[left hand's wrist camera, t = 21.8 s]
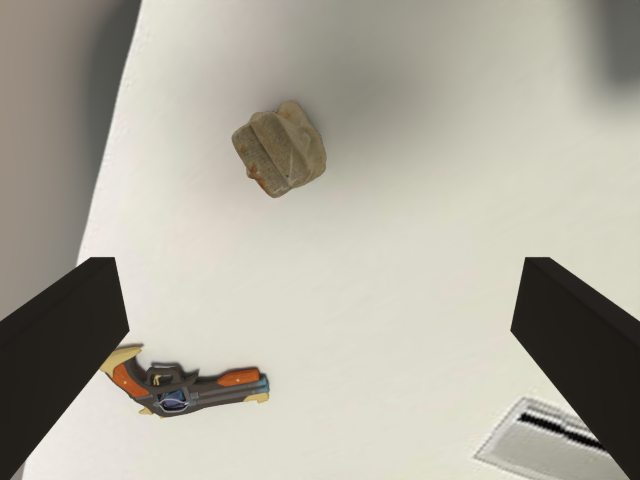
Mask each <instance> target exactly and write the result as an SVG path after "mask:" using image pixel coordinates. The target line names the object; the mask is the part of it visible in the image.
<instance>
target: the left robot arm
mask: <svg viewBox="0 0 640 480" xmlns="http://www.w3.org/2000/svg"><path fill="white" fill-rule="evenodd" d="M129 331H130V330H129V325H128V320H127V315H126V310H125V305H124V301H123V296H122V291H121V286H120V281H119V276H118V271H117V266H116V261H115V257H90V258H89V259H87V260H86V261H85V262H83V263H82V264H80V265H79V266H78V267H76V268H75V269H73V270H72V271H71V272H69V273H68V274H66V275H65V276H64V277H62V278H61V279H59V280H58V281H57V282H55V283H54V284H52V285H51V286H49V287H48V288H47V289H45V290H44V291H42V292H41V293H40V294H38V295H37V296H35V297H34V298H33V299H31V300H30V301H28V302H27V303H26V304H24V305H23V306H21V307H20V308H18V309H17V310H16V311H14V312H13V313H11V314H10V315H9V316H7V317H6V318H4V319H3V320H2V321H0V480H10V479H11V478H12V476H13V475H14V474H15V473H16V471H17V470H18V469H19V468H20V466H21V465H22V464H23V463H24V461H25V460H26V459H27V458H28V456H29V455H30V454H31V453H32V451H33V450H34V449H35V448H36V447H37V445H38V444H39V443H40V442H41V440H42V439H43V438H44V437H45V435H46V434H47V433H48V432H49V430H50V429H51V428H52V427H53V425H54V424H55V423H56V422H57V420H58V419H59V418H60V417H61V415H62V414H63V413H64V412H65V410H66V409H67V408H68V407H69V406H70V404H71V403H72V402H73V401H74V399H75V398H76V397H77V396H78V394H79V393H80V392H81V391H82V389H83V388H84V387H85V386H86V384H87V383H88V382H89V381H90V379H91V378H92V377H93V376H94V374H95V373H96V372H97V371H98V369H99V368H100V367H101V366H102V365H103V363H104V362H105V361H106V360H107V358H108V357H109V356H110V355H111V353H112V352H113V351H114V350H115V348H116V347H117V346H118V345H119V343H120V342H121V341H122V340H123V338H124V337H125V336H126V335H127V333H128V332H129ZM510 331H511V332H512V333H513V335H514V336H515V337H516V338H517V340H518V341H519V342H520V343H521V345H522V346H523V347H524V348H525V350H526V351H527V352H528V353H529V355H530V356H531V357H532V358H533V360H534V361H535V362H536V363H537V365H538V366H539V367H540V368H541V369H542V371H543V372H544V373H545V374H546V376H547V377H548V378H549V379H550V381H551V382H552V383H553V384H554V386H555V387H556V388H557V389H558V391H559V392H560V393H561V394H562V396H563V397H564V398H565V399H566V401H567V402H568V403H569V404H570V406H571V407H572V408H573V409H574V410H575V412H576V413H577V414H578V415H579V417H580V418H581V419H582V420H583V422H584V423H585V424H586V425H587V427H588V428H589V429H590V430H591V432H592V433H593V434H594V435H595V437H596V438H597V439H598V440H599V442H600V443H601V444H602V445H603V447H604V448H605V449H606V450H607V451H608V453H609V454H610V455H611V456H612V458H613V459H614V460H615V461H616V463H617V464H618V465H619V466H620V468H621V469H622V470H623V471H624V473H625V474H626V475H627V476H628V478H629V479H630V480H640V321H638V320H637V319H636V318H634V317H633V316H631V315H630V314H629V313H627V312H626V311H624V310H623V309H622V308H620V307H619V306H617V305H616V304H614V303H613V302H612V301H610V300H609V299H607V298H606V297H605V296H603V295H602V294H600V293H599V292H598V291H596V290H595V289H593V288H592V287H591V286H589V285H588V284H586V283H585V282H584V281H582V280H581V279H579V278H578V277H576V276H575V275H574V274H572V273H571V272H569V271H568V270H567V269H565V268H564V267H562V266H561V265H560V264H558V263H557V262H555V261H554V260H553V259H551V258H550V257H525V261H524V266H523V271H522V276H521V281H520V286H519V291H518V296H517V301H516V305H515V310H514V315H513V320H512V325H511V330H510Z"/></svg>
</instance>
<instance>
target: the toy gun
mask: <svg viewBox="0 0 640 480" xmlns="http://www.w3.org/2000/svg"><path fill="white" fill-rule="evenodd" d="M140 352H141V348H139V347H131V348H125V349H119V350H116V351H113V352H112V353H111V355H110V356H109V357H108V358H107V360H106V361H105V362H104V363H103V365H102V366H101V367H100V368H99V369H100V371H102V372H105V374H106V375H107V376H108V377H109V378H110V379H111V380H112V382H114V383H115V384H116V385H117V386H118V387H120V388H121V389H122V390H124V391H125V392H126V393H127V394H128V395H129V397H130V398H132V399H133V400H134V401H135V402H137V403H139V404H141V405H143V406H144V409H143V410H141V411H139V413H140V414H149V415H152V414H153V413H156V414H157V415H159V416H160V419H162V418H165V417H173V416H178V415H184V414H188V413H192V412H195V411H198V410H200V409H203V408H207V407H212V406H218V405H224V404H230V403H237V402H246V401H253V400H257V401H258V404H259V403H262V402H265V401H268V399H269V385H268V384H267V379H266V377H264V378H263V376H261V377H260V375H259V371H258V370H257V369H252V370H245V371H238V372H231V373H228V374H226V375H224V376H223V377H221V378H219V379H218V380H215V381H210V382H195V380H196V378H197V376H198V374H199V373H196V374H194V375H192V376H189V377H186V378H183V377H182V374H181V371H180V370H179V369H178V368H176V367H170V368H154V367H150V368H149V369H148V370H147V379H146V378H144V377H143V376H142V375H141V374H140V373H139V372H138V371H137V369H136V368H135V365H134V356H135V355H137V354H138V353H140ZM169 374H170V375H172V376H173V380H171V381H166V382H160V383H159V380H158V378H159V377H161V376H162V375H169ZM152 375H156V376H155V378H154V382H153V380H152ZM155 379H156V381H157V382H155ZM167 392H171V393H169V394H168V395H167V396H165V397H164V395H165V393H167ZM162 393H164V394H163V396H161V394H162ZM163 397H164V398H163ZM186 402H189V404H187V405H184V404H185V403H186ZM164 405H166V406H167V407H166V406H164Z"/></svg>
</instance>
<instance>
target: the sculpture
mask: <svg viewBox="0 0 640 480" xmlns="http://www.w3.org/2000/svg"><path fill="white" fill-rule="evenodd" d="M232 142H233V145H234V147H235V149H236V151H237V153H238V155H239V156H240V158H241V159H242V161H243V163H244V164H245V166H246V167H247V176H248V177H249V178H251V179H255V180H256V182H257V183H258V184H259V185H260V187H261V188H262V189H263V190H264V191H265V192H266V193H267V194H268V195H269V196H271V197H272V198H277V197H280V196H282V195H284V194H285V193H287V192H288V191H289V190H291V189H293V188H297V187H300V186H303V185H305V184H307V183H309V182H311V181H312V180H314V179H315V178H317V177H319V176H320V175H321V174H322V173H323V172H324V171H325V168H326V165H325V162H326V153H325V150H324V147H323V143H322V139H321V136H320V134H319V132H318V131H317V130H316V129H315V128H314V127H313V126H312V125H311V123H310V121H309V120H308V118H307V116H306V115H305V113H304V112H303V110H302V108H301V107H300V105H299V104H298V103H297V102H295V101H287V102H284V103H282V104H281V105H280V106H279V107H278V112H277V113H274V112H273V111H267V112H264V113H260V112H258V113H255V114H253V115H252V117H251V119H250V121H249V122H248V123H247V124H246V125H244V126H242V127H241V128H239V129H238V130H237V131H236V132H235V133H234V134H233V135H232Z"/></svg>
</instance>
